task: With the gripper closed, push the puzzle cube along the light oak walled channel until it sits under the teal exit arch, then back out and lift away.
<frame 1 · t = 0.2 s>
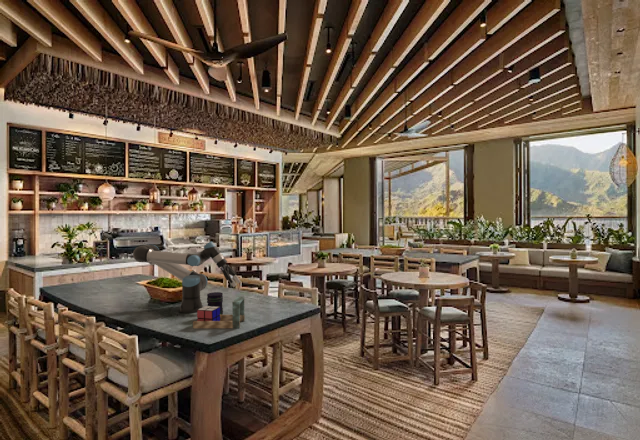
hand: (237, 284, 276), 15 cm above the table, tool tilted 35°, fingers open, 13 cm apart
puzzle cube: (208, 325, 229), on the table
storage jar: (215, 317, 246), on the table
channel: (219, 324, 229), on the table
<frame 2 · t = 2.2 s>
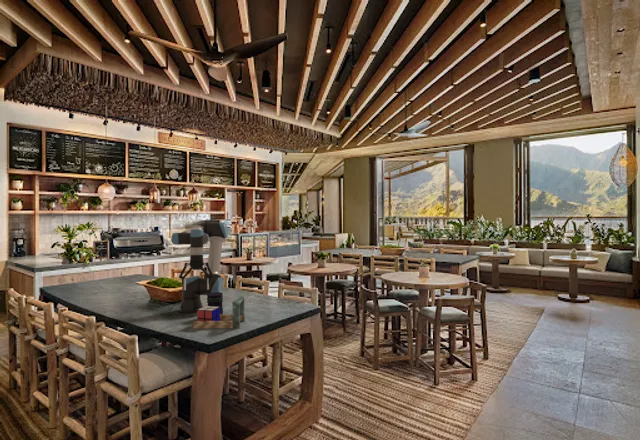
hand: (196, 289, 231), 21 cm above the table, tool pointing down, fingers open, 13 cm apart
nothing on the table moved.
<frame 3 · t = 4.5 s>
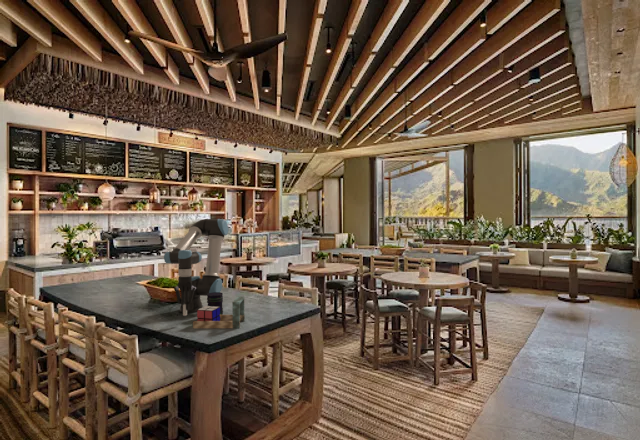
hand: (185, 315, 228), 6 cm above the table, tool pointing down, fingers closed
nothing on the table moved.
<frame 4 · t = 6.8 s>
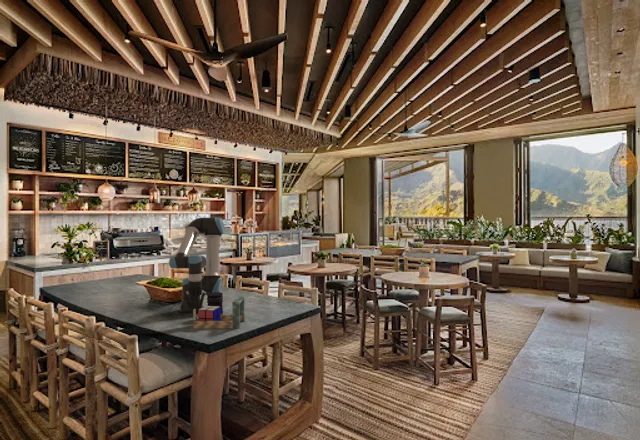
hand: (195, 319, 229), 3 cm above the table, tool pointing down, fingers closed
puzzle cube: (209, 324, 229), on the table, touching gripper
everything else where it was.
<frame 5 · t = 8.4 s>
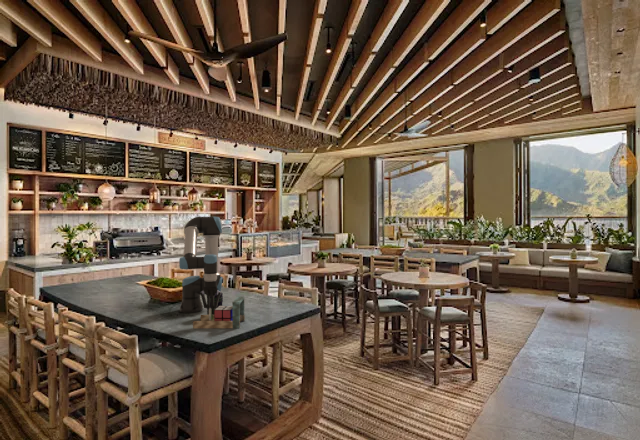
hand: (210, 319, 229), 3 cm above the table, tool pointing down, fingers closed
puzzle cube: (224, 324, 229), on the table, touching gripper
everything else where it was.
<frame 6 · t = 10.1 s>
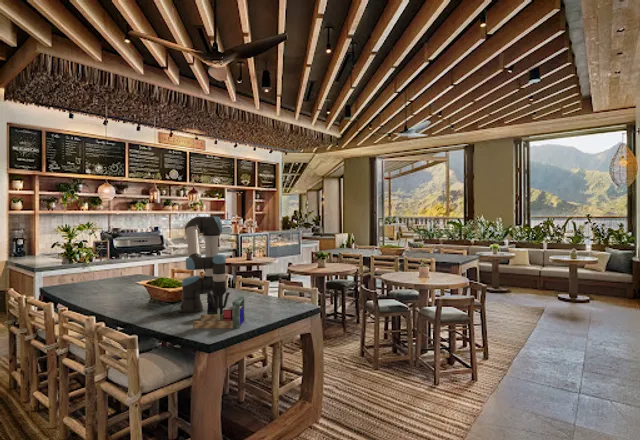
hand: (219, 319, 229), 3 cm above the table, tool pointing down, fingers closed
puzzle cube: (233, 324, 230), on the table, touching gripper
everything else where it was.
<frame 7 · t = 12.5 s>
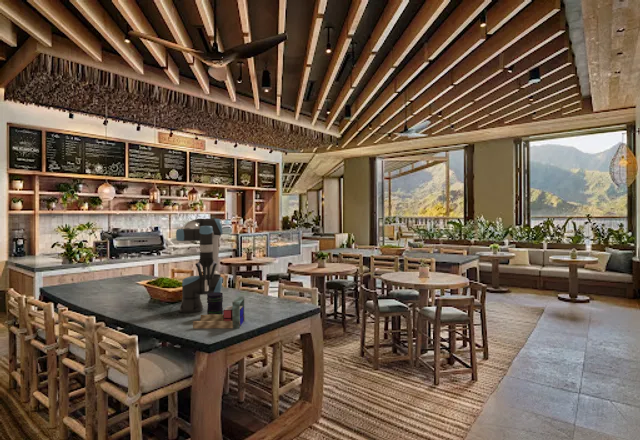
hand: (206, 290, 229), 20 cm above the table, tool pointing down, fingers closed
puzzle cube: (233, 324, 230), on the table
everything else where it was.
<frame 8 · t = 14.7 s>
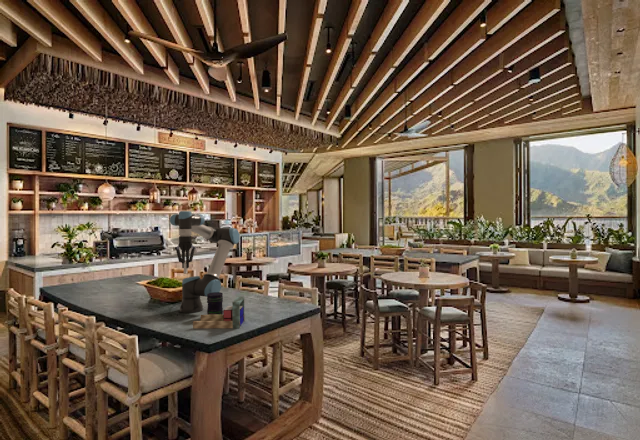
hand: (185, 273, 238), 29 cm above the table, tool pointing down, fingers closed
nothing on the table moved.
at the end: puzzle cube inside the target area (1.2 cm from its centre), on the table; puzzle cube tilted 0° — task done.
